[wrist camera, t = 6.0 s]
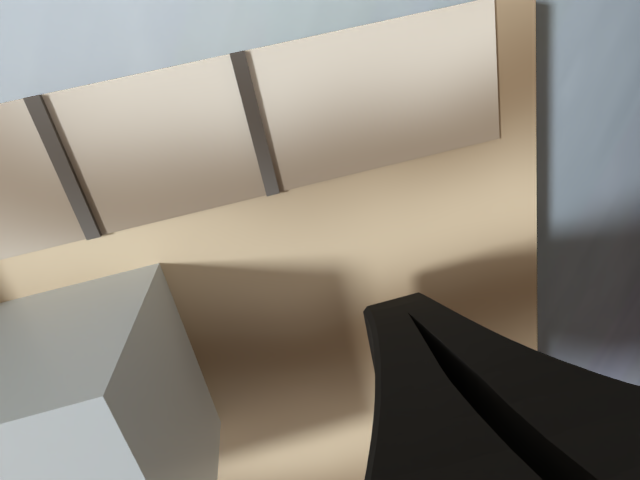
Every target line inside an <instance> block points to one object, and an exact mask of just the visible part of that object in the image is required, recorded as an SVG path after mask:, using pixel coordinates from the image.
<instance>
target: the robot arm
mask: <svg viewBox="0 0 640 480" xmlns="http://www.w3.org/2000/svg"><path fill="white" fill-rule="evenodd" d="M363 314H364V319H365V325H366V330H367V335H368V340H369V345H370V351H371V356H372V361H373V366H374V372H375V402H374V415H373V425H372V435H371V442H370V449H369V455H368V461H367V468H366V473H365V479H364V480H640V386H637V385H633V384H630V383H626V382H623V381H620V380H616V379H613V378H610V377H607V376H604V375H601V374H598V373H595V372H592V371H589V370H586V369H584V368H581V367H578V366H575V365H572V364H569V363H567V362H564V361H561V360H558V359H556V358H553V357H551V356H548V355H546V354H543V353H541V352H538V351H536V350H534V349H531V348H529V347H527V346H525V345H522V344H520V343H518V342H515V341H513V340H511V339H509V338H506V337H504V336H502V335H500V334H498V333H496V332H494V331H492V330H490V329H488V328H486V327H484V326H482V325H480V324H478V323H476V322H474V321H472V320H470V319H468V318H466V317H464V316H462V315H460V314H459V313H457V312H455V311H453V310H451V309H449V308H447V307H446V306H444V305H442V304H440V303H438V302H436V301H435V300H433V299H431V298H429V297H427V296H425V295H423V294H421V293H419V292H418V293H414V294H410V295H407V296H403V297H399V298H396V299H392V300H388V301H384V302H381V303H377V304H373V305H370V306H367V307H366V308H365V310H364V311H363Z"/></svg>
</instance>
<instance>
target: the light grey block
mask: <svg viewBox="0 0 640 480" xmlns="http://www.w3.org/2000/svg"><path fill="white" fill-rule="evenodd" d="M220 428H221V421H220V418H219V416H218V413H217V411H216V408H215V405H214V403H213V400H212V398H211V395H210V393H209V390H208V387H207V385H206V382H205V380H204V377H203V374H202V372H201V369H200V367H199V364H198V361H197V359H196V356H195V354H194V351H193V349H192V346H191V343H190V341H189V338H188V336H187V333H186V330H185V328H184V325H183V323H182V320H181V318H180V315H179V312H178V310H177V307H176V305H175V302H174V299H173V297H172V294H171V292H170V289H169V286H168V284H167V281H166V279H165V276H164V274H163V271H162V268H161V266H160V263H157V264H153V265H149V266H145V267H141V268H137V269H133V270H129V271H125V272H121V273H117V274H113V275H109V276H106V277H102V278H98V279H94V280H90V281H86V282H82V283H78V284H74V285H70V286H66V287H62V288H58V289H54V290H50V291H46V292H42V293H38V294H34V295H30V296H26V297H22V298H18V299H14V300H10V301H6V302H2V303H0V480H217V478H218V461H219V444H220Z"/></svg>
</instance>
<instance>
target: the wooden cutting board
mask: <svg viewBox="0 0 640 480" xmlns="http://www.w3.org/2000/svg"><path fill="white" fill-rule="evenodd" d="M157 263H160V266H161V268H162V271H163V274H164V276H165V279H166V281H167V284H168V286H169V289H170V292H171V294H172V297H173V299H174V302H175V305H176V307H177V310H178V312H179V315H180V318H181V320H182V323H183V325H184V328H185V330H186V333H187V336H188V338H189V341H190V343H191V346H192V349H193V351H194V354H195V356H196V359H197V361H198V364H199V367H200V369H201V372H202V374H203V377H204V380H205V382H206V385H207V387H208V390H209V393H210V395H211V398H212V400H213V403H214V405H215V408H216V411H217V413H218V416H219V418H220V421H221V428H220V444H219V461H218V478H217V480H364V479H365V473H366V468H367V461H368V455H369V449H370V442H371V435H372V425H373V415H374V402H375V372H374V366H373V361H372V356H371V351H370V345H369V340H368V335H367V330H366V325H365V319H364V314H363V311H364V310H365V308H366V307H367V306H370V305H373V304H377V303H381V302H384V301H388V300H392V299H396V298H399V297H403V296H407V295H410V294H414V293H418V292H419V293H421V294H423V295H425V296H427V297H429V298H431V299H433V300H435V301H436V302H438V303H440V304H442V305H444V306H446V307H447V308H449V309H451V310H453V311H455V312H457V313H459V314H460V315H462V316H464V317H466V318H468V319H470V320H472V321H474V322H476V323H478V324H480V325H482V326H484V327H486V328H488V329H490V330H492V331H494V332H496V333H498V334H500V335H502V336H504V337H506V338H509V339H511V340H513V341H515V342H518V343H520V344H522V345H525V346H527V347H529V348H531V349H534V350H536V351H537V175H536V0H477V1H473V2H468V3H463V4H459V5H454V6H450V7H445V8H440V9H436V10H431V11H426V12H422V13H417V14H412V15H408V16H403V17H399V18H394V19H389V20H385V21H380V22H375V23H371V24H366V25H362V26H357V27H352V28H348V29H343V30H338V31H334V32H329V33H324V34H320V35H315V36H311V37H306V38H301V39H297V40H292V41H287V42H283V43H278V44H274V45H269V46H264V47H260V48H255V49H250V50H246V51H240V52H235V53H231V54H227V55H223V56H218V57H213V58H209V59H204V60H199V61H195V62H190V63H186V64H181V65H176V66H172V67H167V68H162V69H158V70H153V71H149V72H144V73H139V74H135V75H130V76H125V77H121V78H116V79H111V80H107V81H102V82H98V83H93V84H88V85H84V86H79V87H74V88H70V89H65V90H61V91H56V92H51V93H47V94H42V95H36V96H32V97H27V98H23V99H19V100H14V101H10V102H5V103H0V303H2V302H6V301H10V300H14V299H18V298H22V297H26V296H30V295H34V294H38V293H42V292H46V291H50V290H54V289H58V288H62V287H66V286H70V285H74V284H78V283H82V282H86V281H90V280H94V279H98V278H102V277H106V276H109V275H113V274H117V273H121V272H125V271H129V270H133V269H137V268H141V267H145V266H149V265H153V264H157Z"/></svg>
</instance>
